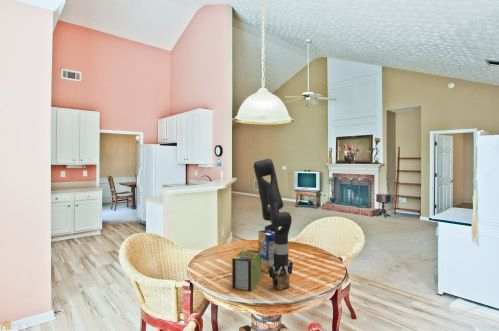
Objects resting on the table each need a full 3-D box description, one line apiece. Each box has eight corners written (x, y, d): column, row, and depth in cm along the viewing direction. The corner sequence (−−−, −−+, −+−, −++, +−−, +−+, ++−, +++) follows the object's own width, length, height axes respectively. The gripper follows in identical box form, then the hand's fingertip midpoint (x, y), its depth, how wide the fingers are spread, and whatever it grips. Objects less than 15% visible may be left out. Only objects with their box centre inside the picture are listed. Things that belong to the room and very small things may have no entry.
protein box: (260, 279, 152) (260, 250, 152) (251, 291, 138) (251, 260, 138) (242, 276, 156) (242, 248, 156) (231, 288, 141) (231, 257, 141)
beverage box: (268, 274, 159) (268, 235, 159) (258, 267, 169) (258, 230, 168) (278, 271, 162) (278, 233, 162) (267, 265, 172) (268, 229, 171)
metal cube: (282, 282, 147) (282, 271, 147) (289, 286, 142) (289, 275, 142) (272, 284, 144) (272, 273, 144) (279, 289, 139) (279, 277, 139)
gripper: (287, 247, 149) (287, 278, 150) (265, 251, 142) (264, 284, 143) (296, 251, 143) (296, 284, 143) (273, 256, 136) (273, 290, 136)
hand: (280, 284), depth 143 cm, fingers closed on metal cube, 6 cm apart
